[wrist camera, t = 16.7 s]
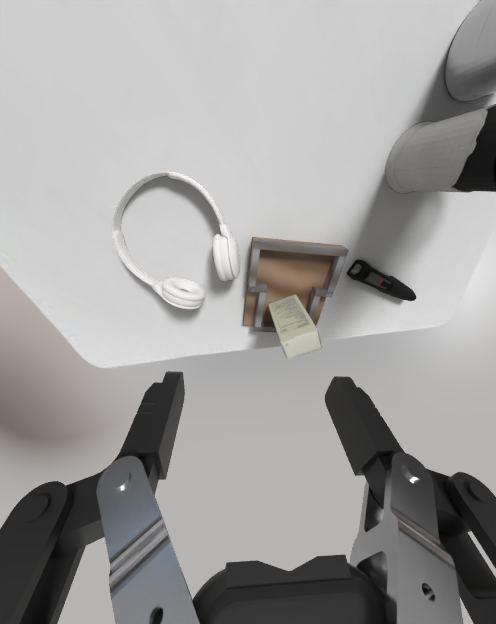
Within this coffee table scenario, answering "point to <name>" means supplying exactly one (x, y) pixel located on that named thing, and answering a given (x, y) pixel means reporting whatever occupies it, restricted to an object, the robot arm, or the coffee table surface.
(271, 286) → the keyhole board
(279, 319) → the skincare box
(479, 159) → the glass holder
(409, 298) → the electric trimmer
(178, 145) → the coffee table surface
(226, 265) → the headphones
